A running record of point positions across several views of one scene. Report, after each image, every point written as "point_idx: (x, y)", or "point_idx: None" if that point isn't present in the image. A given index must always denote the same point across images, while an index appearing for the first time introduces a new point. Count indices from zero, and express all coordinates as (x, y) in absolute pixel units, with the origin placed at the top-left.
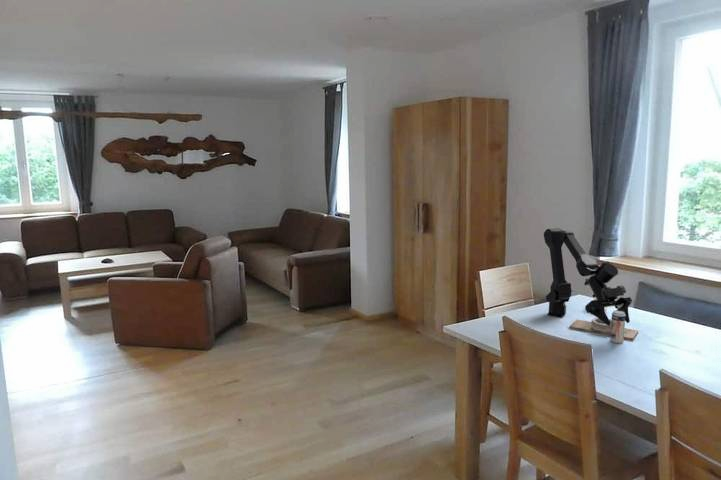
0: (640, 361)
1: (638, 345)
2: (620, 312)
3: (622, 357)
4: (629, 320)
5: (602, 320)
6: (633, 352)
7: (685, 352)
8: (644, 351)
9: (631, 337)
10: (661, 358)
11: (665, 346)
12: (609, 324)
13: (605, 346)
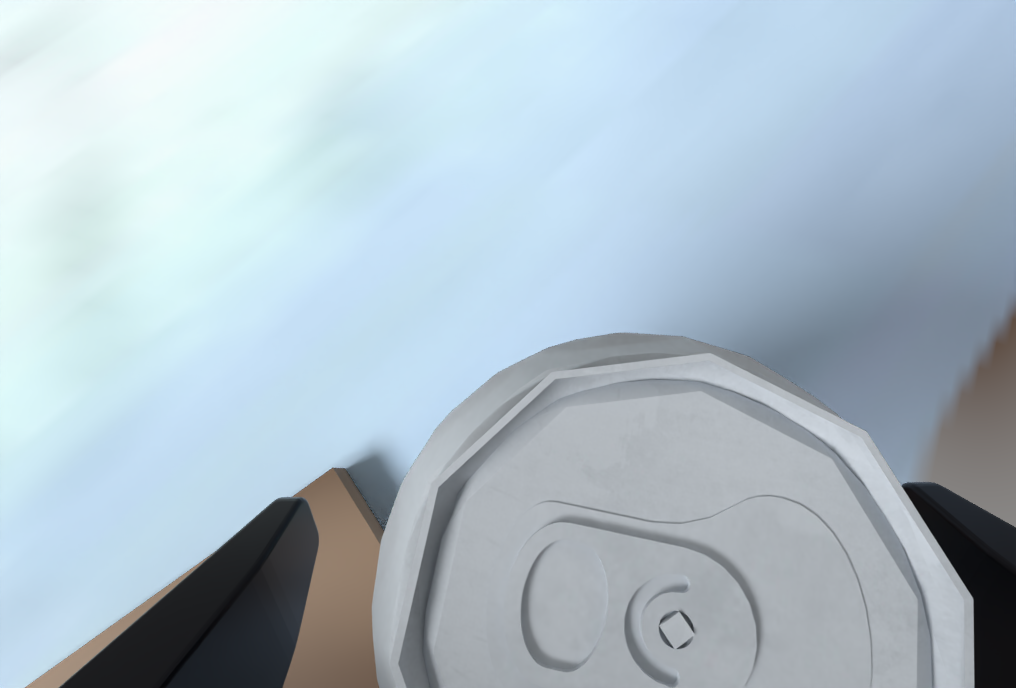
0: (724, 5)
1: (406, 328)
2: (630, 554)
3: (837, 112)
4: (262, 512)
5: None
6: (624, 184)
7: (135, 63)
8: (488, 176)
9: (322, 507)
10: (475, 12)
11: (157, 224)
12: (929, 494)
13: None
